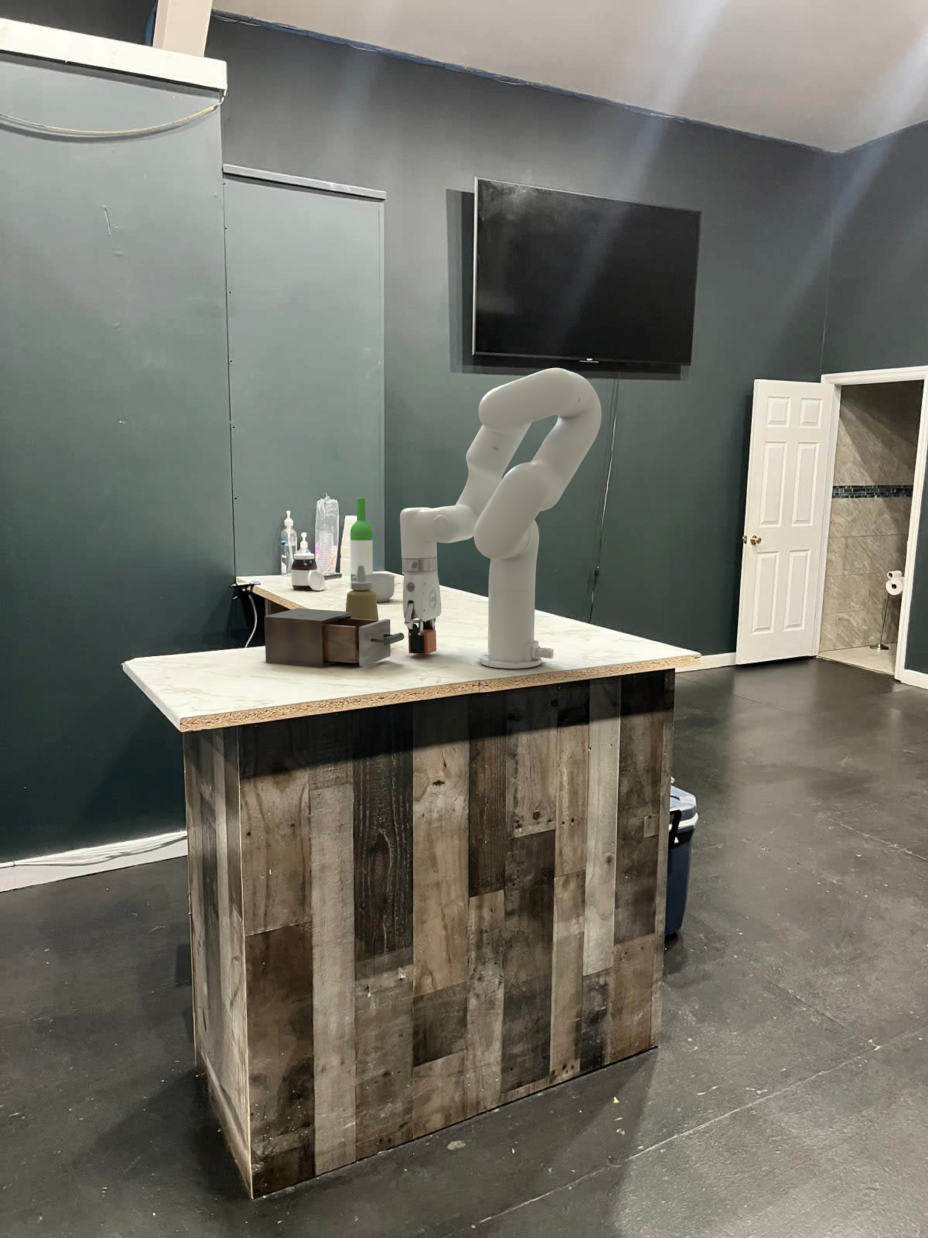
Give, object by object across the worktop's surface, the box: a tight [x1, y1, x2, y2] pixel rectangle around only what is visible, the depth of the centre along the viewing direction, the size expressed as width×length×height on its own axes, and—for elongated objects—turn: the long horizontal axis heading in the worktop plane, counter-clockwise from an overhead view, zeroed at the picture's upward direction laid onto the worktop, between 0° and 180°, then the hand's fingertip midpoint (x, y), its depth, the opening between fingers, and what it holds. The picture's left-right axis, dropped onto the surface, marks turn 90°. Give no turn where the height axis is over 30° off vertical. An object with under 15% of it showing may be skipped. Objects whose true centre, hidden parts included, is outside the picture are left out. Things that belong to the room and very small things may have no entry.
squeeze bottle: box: [345, 566, 380, 621], centre depth 208 cm, size 8×8×18 cm
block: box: [407, 629, 437, 655], centre depth 197 cm, size 4×4×4 cm
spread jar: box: [290, 553, 326, 592], centre depth 307 cm, size 12×11×12 cm
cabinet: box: [263, 607, 353, 668], centre depth 192 cm, size 14×13×10 cm
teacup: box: [352, 572, 396, 603], centre depth 281 cm, size 14×11×8 cm
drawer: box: [324, 618, 405, 667], centre depth 188 cm, size 17×11×8 cm
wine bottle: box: [349, 497, 374, 583], centre depth 323 cm, size 8×8×30 cm
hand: (422, 650), depth 197 cm, fingers closed on block, 4 cm apart
